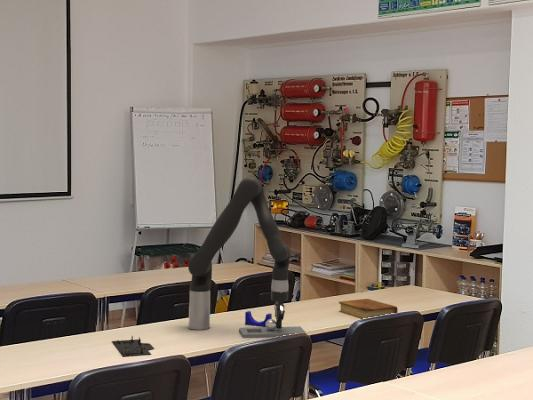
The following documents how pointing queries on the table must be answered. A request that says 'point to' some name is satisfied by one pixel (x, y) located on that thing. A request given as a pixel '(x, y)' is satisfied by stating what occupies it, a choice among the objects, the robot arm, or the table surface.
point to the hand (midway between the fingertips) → (278, 328)
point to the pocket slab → (268, 331)
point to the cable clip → (250, 320)
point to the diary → (366, 308)
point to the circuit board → (132, 347)
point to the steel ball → (271, 324)
